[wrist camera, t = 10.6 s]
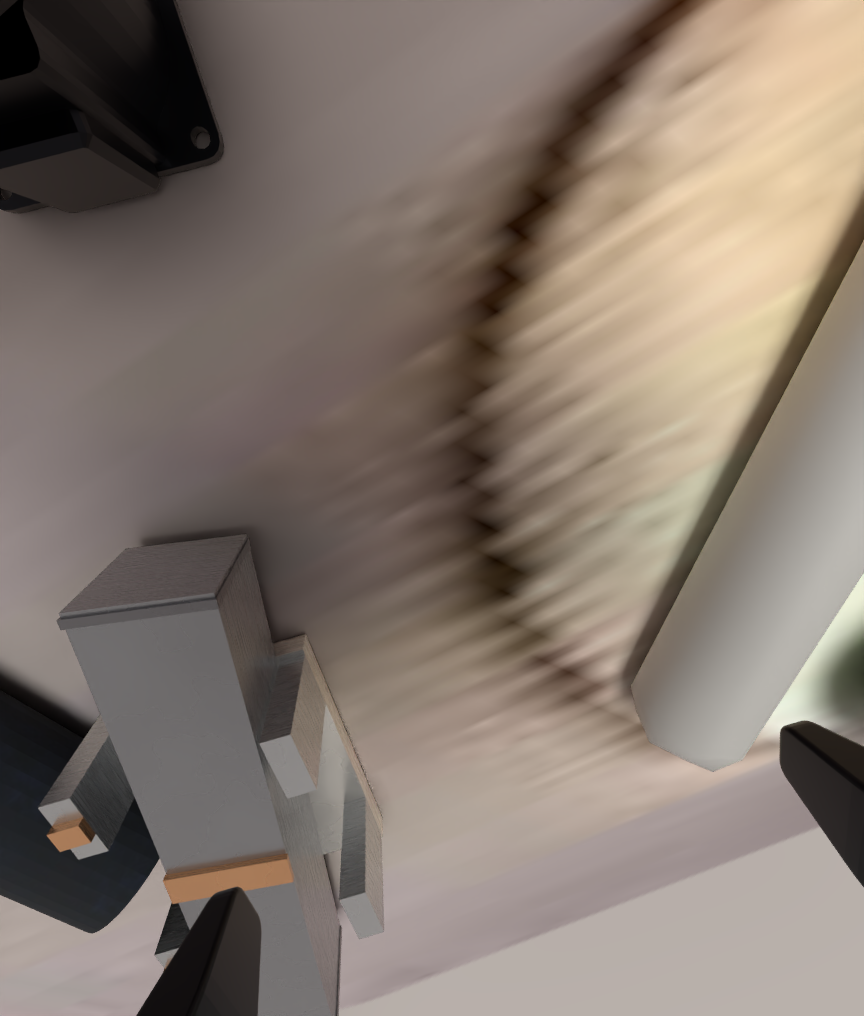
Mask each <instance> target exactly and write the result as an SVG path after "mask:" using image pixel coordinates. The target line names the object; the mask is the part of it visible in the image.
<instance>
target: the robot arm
mask: <svg viewBox="0 0 864 1016" xmlns="http://www.w3.org/2000/svg"><path fill="white" fill-rule="evenodd" d="M200 132H207V133H209V135H210V144H209V146H208V147H207V148H205V149H199V148H198V147H197V146H196V142H195V138H196V136H197V134H198V133H200ZM223 148H224V145H223V139H222V135H221V132H220V130H219V127H218V124H217V121H216V118H215V115H214V112H213V109H212V106H211V103H210V100H209V97H208V94H207V91H206V88H205V85H204V82H203V79H202V76H201V74H200V71H199V68H198V65H197V62H196V59H195V56H194V53H193V50H192V47H191V44H190V41H189V38H188V35H187V32H186V29H185V26H184V23H183V21H182V18H181V15H180V12H179V9H178V6H177V3H176V0H0V189H1V188H2V189H4V190H7V191H10V192H12V195H11V198H9V199H8V200H5V199H4V198H3V196H2V194H1V190H0V209H1V210H4V211H7V212H11V213H23V212H27V211H31V210H35V209H38V208H42V207H46V206H52V207H55V208H58V209H61V210H64V211H66V212H69V213H76V212H80V211H84V210H87V209H91V208H95V207H99V206H103V205H107V204H110V203H114V202H118V201H122V200H126V199H130V198H133V197H137V196H141V195H145V194H149V193H153V192H156V191H157V189H158V187H159V185H160V183H161V180H160V178H159V177H161V176H165V175H169V174H173V173H177V172H180V171H184V170H188V169H192V168H196V167H200V166H203V165H207V164H211V163H214V162H215V161H217V160H219V158H220V157H221V155H222V153H223ZM780 765H781V768H782V771H783V773H784V775H785V777H786V778H787V780H788V781H789V783H790V784H791V785H792V787H793V788H794V790H795V791H796V793H797V794H798V796H799V797H800V798H801V800H802V801H803V803H804V804H805V806H806V807H807V808H808V810H809V811H810V813H811V814H812V816H813V817H814V819H815V820H816V821H817V823H818V824H819V826H820V827H821V829H822V830H823V831H824V833H825V834H826V835H827V837H828V839H829V840H830V841H831V843H832V844H833V846H834V847H835V849H836V850H837V851H838V853H839V854H840V856H841V857H842V858H843V860H844V862H845V863H846V864H847V866H848V867H849V869H850V870H851V871H852V872H853V874H854V875H855V877H856V878H857V879H858V881H859V882H860V883H861V884H862V886H863V887H864V746H862V745H860V744H858V743H856V742H854V741H851V740H849V739H847V738H845V737H843V736H841V735H839V734H837V733H835V732H832V731H830V730H828V729H826V728H824V727H822V726H820V725H818V724H816V723H813V722H810V721H800V722H796V723H793V724H789V725H786V726H784V727H783V728H782V729H781V732H780ZM261 936H262V930H261V921H260V918H259V915H258V913H257V911H256V910H255V908H254V907H253V905H252V903H251V902H250V900H249V898H248V897H247V895H246V894H245V892H244V890H243V889H242V888H240V887H233V888H230V889H226V890H223V891H219V892H217V893H215V894H214V895H213V896H212V897H211V898H210V899H209V900H208V902H207V903H206V905H205V907H204V908H203V910H202V911H201V913H200V915H199V916H198V918H197V919H196V921H195V923H194V924H193V926H192V927H191V929H190V931H189V932H188V934H187V935H186V937H185V939H184V940H183V942H182V943H181V945H180V947H179V948H178V950H177V951H176V953H175V955H174V956H173V958H172V959H171V961H170V963H169V964H168V966H167V967H166V969H165V971H164V972H163V974H162V975H161V977H160V979H159V980H158V982H157V983H156V985H155V987H154V988H153V990H152V991H151V993H150V995H149V996H148V998H147V999H146V1001H145V1003H144V1004H143V1006H142V1007H141V1009H140V1011H139V1012H138V1014H137V1015H136V1016H258V1001H259V979H260V957H261Z"/></svg>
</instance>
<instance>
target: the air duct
mask: <svg viewBox="0 0 864 1016" xmlns="http://www.w3.org/2000/svg"><path fill="white" fill-rule="evenodd" d="M250 546H251V544H250V539H249V538H248V537H247V534H242V535H234V536H226V537H218V538H210V539H201V540H193V541H185V542H177V543H169V544H161V545H153V546H145V547H136V548H128V549H125V550H124V551H123V552H122V553H121V554H120V555H119V556H118V557H117V558H116V559H115V560H114V561H113V562H112V563H111V564H110V565H109V566H108V567H107V568H106V569H104V570H103V571H102V572H101V573H100V574H99V575H98V576H97V577H96V578H95V579H94V580H93V581H92V582H91V583H90V584H89V585H88V586H87V587H86V588H85V589H84V590H83V591H82V592H81V593H79V594H78V595H77V596H76V597H75V598H74V599H73V600H72V601H71V602H70V603H69V604H68V605H67V606H66V607H65V608H64V609H63V610H62V611H61V612H60V613H59V615H60V618H59V619H58V620H57V623H58V625H59V627H60V630H66V632H67V635H68V637H69V639H70V642H71V644H72V647H73V649H74V651H75V654H76V656H77V659H78V661H79V664H80V666H81V668H82V671H83V673H84V676H85V678H86V680H87V683H88V685H89V688H90V690H91V693H92V695H93V697H94V700H95V702H96V705H97V707H98V709H99V712H100V714H101V717H102V719H103V722H104V724H105V726H106V729H107V731H108V734H109V736H110V739H111V741H112V743H113V746H114V748H115V751H116V753H117V755H118V758H119V760H120V763H121V765H122V768H123V770H124V772H125V775H126V777H127V780H128V782H129V784H130V787H131V789H132V792H133V794H134V797H135V799H136V801H137V804H138V806H139V809H140V811H141V813H142V816H143V818H144V821H145V823H146V826H147V828H148V830H149V833H150V835H151V838H152V840H153V842H154V845H155V847H156V850H157V852H158V855H159V857H160V859H161V862H162V864H163V867H164V869H165V871H166V874H167V875H165V877H164V880H163V882H164V884H165V887H166V889H167V892H168V894H169V896H170V899H171V901H172V903H173V904H175V903H179V905H180V908H181V910H182V913H183V915H184V917H185V920H186V922H187V925H188V927H189V930H190V929H191V927H192V926H193V924H194V923H195V921H196V919H197V918H198V916H199V915H200V913H201V911H202V910H203V908H204V907H205V905H206V903H207V902H208V900H209V899H210V898H211V897H212V896H213V895H214V894H215V893H217V892H219V891H223V890H226V889H230V888H233V887H240V888H242V889H243V890H244V892H245V894H246V895H247V897H248V898H249V900H250V902H251V903H252V905H253V907H254V908H255V910H256V911H257V913H258V915H259V918H260V921H261V930H262V936H261V957H260V979H259V1001H258V1016H338V1015H339V990H340V965H341V940H342V927H341V926H340V923H339V919H338V915H337V911H336V907H335V902H334V898H333V894H332V890H331V886H330V881H329V877H328V873H327V869H326V865H325V860H324V856H323V852H322V848H321V844H320V839H319V835H318V831H317V827H316V823H315V818H314V814H313V810H312V806H311V802H310V797H309V793H305V794H302V795H298V796H295V797H291V798H288V799H287V797H286V795H285V793H284V791H283V789H282V787H281V785H280V784H279V782H278V780H277V778H276V776H275V774H274V772H273V770H272V768H271V766H270V764H269V762H268V760H267V758H266V756H265V754H264V752H263V750H262V748H261V746H260V744H259V742H260V738H261V734H262V730H263V726H264V722H265V718H266V714H267V710H268V706H269V703H270V699H271V695H272V691H273V687H274V683H275V679H276V675H277V671H278V663H277V659H276V655H275V651H274V646H273V642H272V638H271V634H270V630H269V625H268V621H267V617H266V613H265V609H264V604H263V600H262V596H261V592H260V588H259V583H258V579H257V575H256V571H255V567H254V563H253V558H252V554H251V550H250Z"/></svg>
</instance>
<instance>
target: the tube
mask: <svg viewBox="0 0 864 1016" xmlns="http://www.w3.org/2000/svg"><path fill="white" fill-rule="evenodd" d="M863 573H864V241H863V243H862V245H861V246H860V248H859V250H858V252H857V254H856V256H855V258H854V260H853V262H852V264H851V266H850V268H849V269H848V271H847V273H846V275H845V277H844V279H843V281H842V283H841V285H840V287H839V289H838V290H837V292H836V294H835V296H834V298H833V300H832V302H831V304H830V306H829V308H828V310H827V312H826V313H825V315H824V317H823V319H822V321H821V323H820V325H819V327H818V329H817V331H816V333H815V335H814V336H813V338H812V340H811V342H810V344H809V346H808V348H807V350H806V352H805V354H804V356H803V357H802V359H801V361H800V363H799V365H798V367H797V369H796V371H795V373H794V375H793V377H792V379H791V380H790V382H789V384H788V386H787V388H786V390H785V392H784V394H783V396H782V398H781V400H780V402H779V403H778V405H777V407H776V409H775V411H774V413H773V415H772V417H771V419H770V421H769V423H768V424H767V426H766V428H765V430H764V432H763V434H762V436H761V438H760V440H759V442H758V444H757V446H756V447H755V449H754V451H753V453H752V455H751V457H750V459H749V461H748V463H747V465H746V467H745V468H744V470H743V472H742V474H741V476H740V478H739V480H738V482H737V484H736V486H735V488H734V490H733V491H732V493H731V495H730V497H729V499H728V501H727V503H726V505H725V507H724V509H723V511H722V513H721V514H720V516H719V518H718V520H717V522H716V524H715V526H714V528H713V530H712V532H711V534H710V535H709V537H708V539H707V541H706V543H705V545H704V547H703V549H702V551H701V553H700V555H699V557H698V558H697V560H696V562H695V564H694V566H693V568H692V570H691V572H690V574H689V576H688V578H687V580H686V581H685V583H684V585H683V587H682V589H681V591H680V593H679V595H678V597H677V599H676V601H675V602H674V604H673V606H672V608H671V610H670V612H669V614H668V616H667V618H666V620H665V622H664V624H663V625H662V627H661V629H660V631H659V633H658V635H657V637H656V639H655V641H654V643H653V645H652V647H651V648H650V650H649V652H648V654H647V656H646V658H645V660H644V662H643V664H642V666H641V668H640V669H639V671H638V673H637V675H636V677H635V679H634V681H633V683H632V685H631V691H632V695H633V699H634V703H635V707H636V711H637V714H638V716H639V718H640V721H641V723H642V725H643V728H644V730H645V733H646V735H647V737H648V740H649V742H650V743H652V744H654V745H656V746H658V747H660V748H662V749H664V750H666V751H668V752H670V753H672V754H674V755H676V756H678V757H680V758H682V759H684V760H686V761H688V762H690V763H693V764H695V765H697V766H700V767H702V768H705V769H707V770H709V771H712V772H714V771H716V770H719V769H721V768H724V767H726V766H729V765H731V764H734V763H736V762H739V761H741V760H742V759H743V758H744V756H745V755H746V753H747V752H748V750H749V749H750V747H751V746H752V744H753V742H754V741H755V739H756V738H757V736H758V735H759V733H760V732H761V730H762V729H763V727H764V726H765V724H766V722H767V721H768V719H769V718H770V716H771V715H772V713H773V712H774V710H775V709H776V707H777V706H778V704H779V702H780V701H781V699H782V698H783V696H784V695H785V693H786V692H787V690H788V689H789V687H790V685H791V684H792V682H793V681H794V679H795V678H796V676H797V675H798V673H799V672H800V670H801V669H802V667H803V665H804V664H805V662H806V661H807V659H808V658H809V656H810V655H811V653H812V652H813V650H814V649H815V647H816V645H817V644H818V642H819V641H820V639H821V638H822V636H823V635H824V633H825V632H826V630H827V629H828V627H829V625H830V624H831V622H832V621H833V619H834V618H835V616H836V615H837V613H838V612H839V610H840V608H841V607H842V605H843V604H844V602H845V601H846V599H847V598H848V596H849V595H850V593H851V592H852V590H853V588H854V587H855V585H856V584H857V582H858V581H859V579H860V578H861V576H862V575H863Z"/></svg>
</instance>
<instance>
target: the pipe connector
mask: <svg viewBox="0 0 864 1016" xmlns="http://www.w3.org/2000/svg"><path fill="white" fill-rule="evenodd" d="M83 739H84V738H82V737H80V736H79V735H77V734H75V733H73V732H72V731H70V730H68V729H66V728H65V727H63V726H61V725H60V724H58V723H56V722H54V721H53V720H51V719H49V718H47V717H46V716H44V715H42V714H41V713H39V712H37V711H35V710H34V709H32V708H30V707H28V706H27V705H25V704H23V703H22V702H20V701H18V700H16V699H15V698H13V697H11V696H9V695H8V694H6V693H4V692H2V691H1V690H0V895H2V896H4V897H6V898H9V899H11V900H13V901H16V902H18V903H20V904H23V905H25V906H27V907H30V908H32V909H34V910H36V911H39V912H41V913H43V914H46V915H48V916H50V917H53V918H55V919H57V920H60V921H62V922H64V923H67V924H69V925H71V926H74V927H76V928H78V929H81V930H83V931H85V932H88V933H95V932H97V931H99V930H101V929H102V928H104V927H105V926H107V925H108V924H109V923H110V922H111V921H112V920H113V919H114V918H115V917H116V916H117V915H118V914H119V913H120V912H121V911H122V910H123V909H124V908H125V907H126V905H127V904H128V903H129V902H130V900H131V899H132V898H133V897H134V895H135V894H136V893H137V892H138V890H139V889H140V887H141V886H142V885H143V883H144V882H145V880H146V879H147V878H148V876H149V874H150V873H151V871H152V870H153V868H154V867H155V865H156V863H157V862H158V860H159V858H160V857H159V855H158V852H157V850H156V847H155V845H154V842H153V840H152V838H151V835H150V833H149V830H148V828H147V826H146V823H145V821H144V818H143V816H142V813H141V811H140V809H139V806H138V804H137V801H136V799H135V797H134V800H133V802H132V804H131V806H130V808H129V810H128V812H127V814H126V816H125V818H124V820H123V822H122V824H121V826H120V829H119V831H118V833H117V835H116V837H115V839H114V841H113V843H112V845H111V847H110V849H109V851H107V852H103V853H100V854H96V855H93V856H89V857H86V858H83V859H79V860H78V858H77V857H76V856H75V854H74V853H73V852H72V851H71V849H68V850H65V851H62V852H59V850H58V849H57V848H56V847H55V845H54V844H53V843H52V842H51V840H50V839H49V838H48V837H47V834H48V832H49V830H50V829H51V827H52V825H51V824H50V823H49V822H48V820H47V819H46V818H45V817H44V815H43V814H42V813H41V811H40V810H39V809H38V806H39V805H40V803H41V802H42V800H43V799H44V798H45V796H46V795H47V793H48V792H49V790H50V789H51V787H52V786H53V784H54V783H55V781H56V780H57V778H58V777H59V775H60V774H61V772H62V771H63V769H64V768H65V766H66V765H67V763H68V762H69V760H70V759H71V757H72V756H73V754H74V753H75V751H76V750H77V748H78V747H79V745H80V744H81V742H82V741H83Z"/></svg>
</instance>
